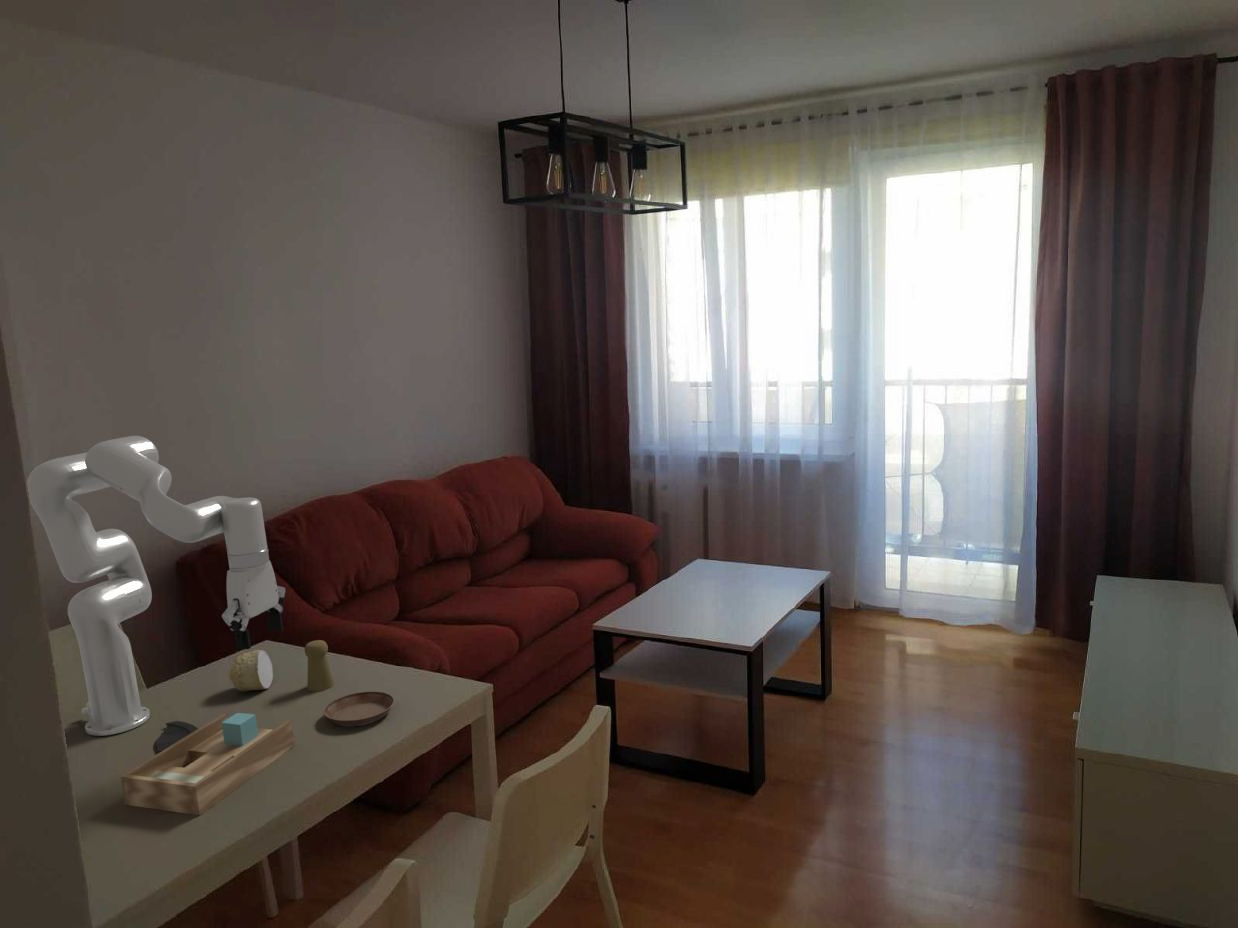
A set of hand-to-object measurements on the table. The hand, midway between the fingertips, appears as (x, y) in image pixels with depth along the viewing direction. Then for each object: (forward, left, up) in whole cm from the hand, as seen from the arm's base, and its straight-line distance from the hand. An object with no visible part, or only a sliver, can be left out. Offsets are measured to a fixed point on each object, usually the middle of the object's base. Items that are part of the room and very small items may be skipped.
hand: (260, 639), depth 184 cm
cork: (-6, +24, -22) cm, 33 cm away
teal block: (-1, -8, -18) cm, 20 cm away
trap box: (-1, -16, -21) cm, 26 cm away
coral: (-22, +20, -22) cm, 37 cm away
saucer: (+13, +12, -22) cm, 28 cm away
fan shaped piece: (-20, -5, -22) cm, 30 cm away
